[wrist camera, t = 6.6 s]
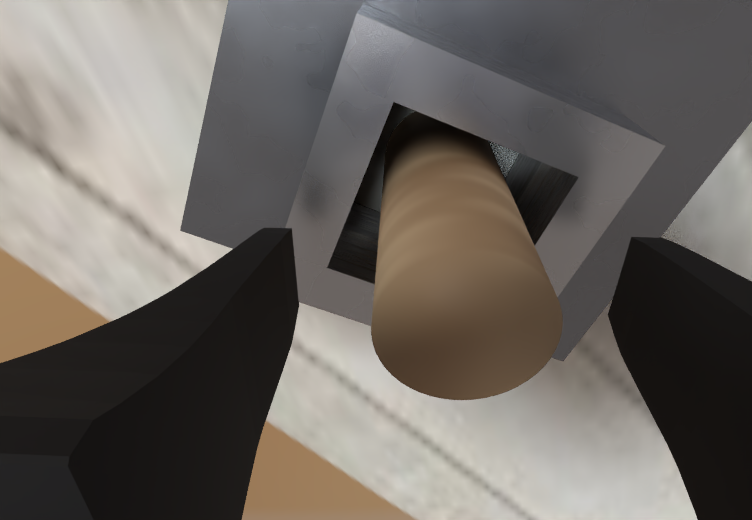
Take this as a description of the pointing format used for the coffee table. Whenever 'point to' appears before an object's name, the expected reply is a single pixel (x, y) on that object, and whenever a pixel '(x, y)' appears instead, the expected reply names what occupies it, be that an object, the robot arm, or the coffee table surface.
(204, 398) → the robot arm
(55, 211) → the coffee table surface
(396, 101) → the mount plate
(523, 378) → the pin
